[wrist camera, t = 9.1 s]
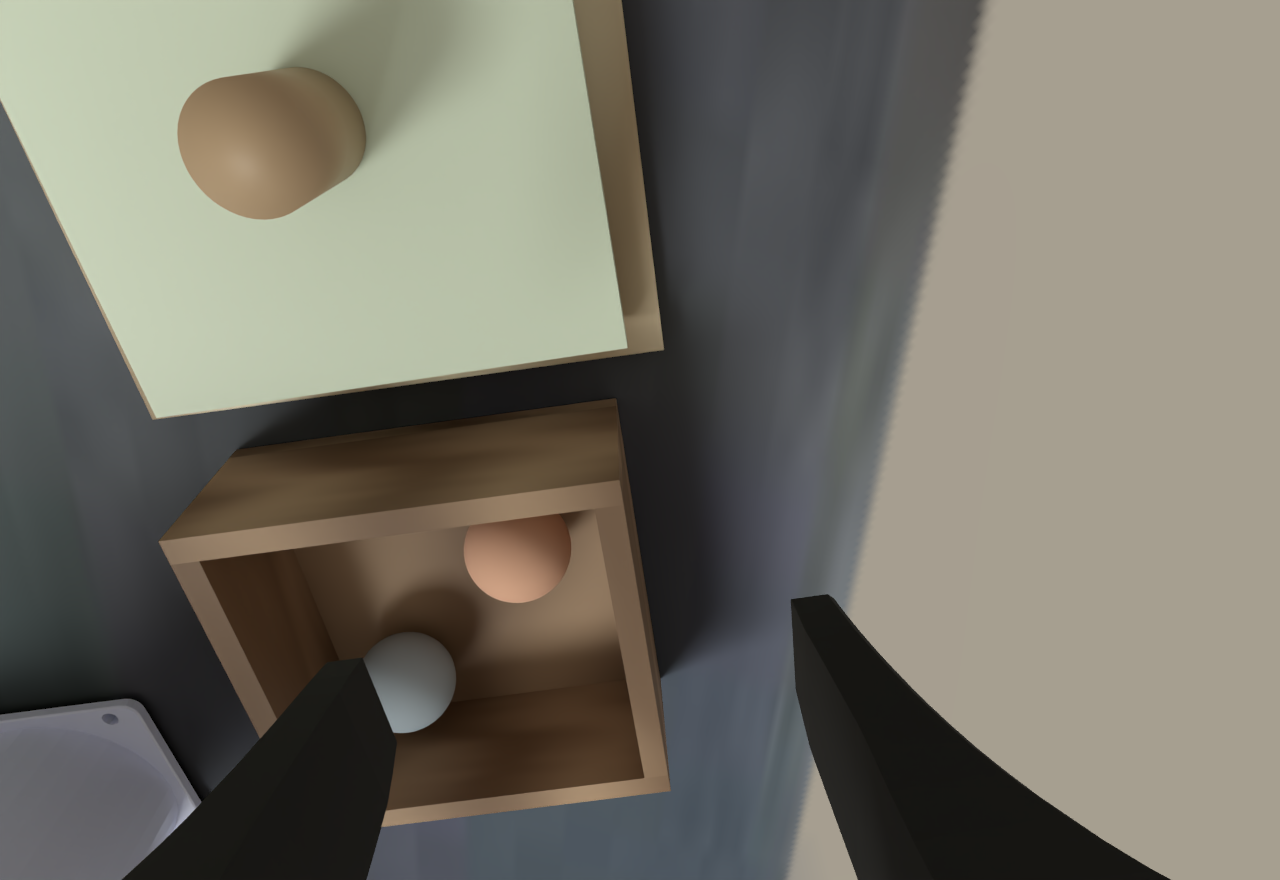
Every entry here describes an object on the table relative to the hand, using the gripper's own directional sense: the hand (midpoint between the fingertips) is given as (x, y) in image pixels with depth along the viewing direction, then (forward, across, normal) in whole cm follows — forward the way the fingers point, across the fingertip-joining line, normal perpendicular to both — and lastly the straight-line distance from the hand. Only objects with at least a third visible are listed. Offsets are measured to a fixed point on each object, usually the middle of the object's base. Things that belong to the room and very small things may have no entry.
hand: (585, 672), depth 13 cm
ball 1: (+10, +7, +8) cm, 14 cm away
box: (+10, +5, +5) cm, 13 cm away
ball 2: (+10, +3, +3) cm, 11 cm away
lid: (+9, +5, -8) cm, 13 cm away
